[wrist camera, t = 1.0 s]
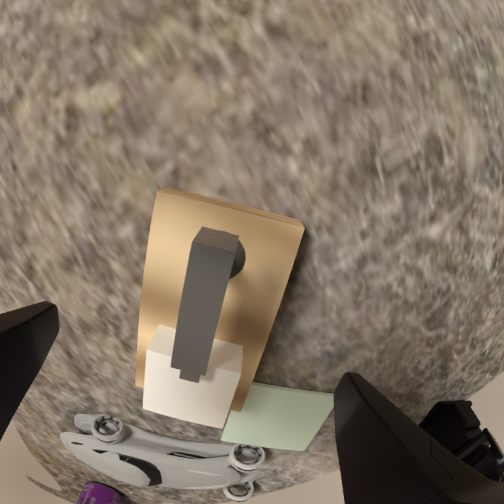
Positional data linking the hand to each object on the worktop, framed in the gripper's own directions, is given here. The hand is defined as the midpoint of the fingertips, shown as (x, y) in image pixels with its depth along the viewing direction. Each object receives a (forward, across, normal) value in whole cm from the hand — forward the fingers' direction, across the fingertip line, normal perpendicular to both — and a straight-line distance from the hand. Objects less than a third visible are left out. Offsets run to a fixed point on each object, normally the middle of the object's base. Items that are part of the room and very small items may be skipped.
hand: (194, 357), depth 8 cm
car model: (+13, +3, +28) cm, 31 cm away
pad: (+12, -8, +17) cm, 22 cm away
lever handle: (+10, 0, +3) cm, 11 cm away
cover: (+11, 0, +10) cm, 15 cm away
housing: (+13, 0, +6) cm, 14 cm away
